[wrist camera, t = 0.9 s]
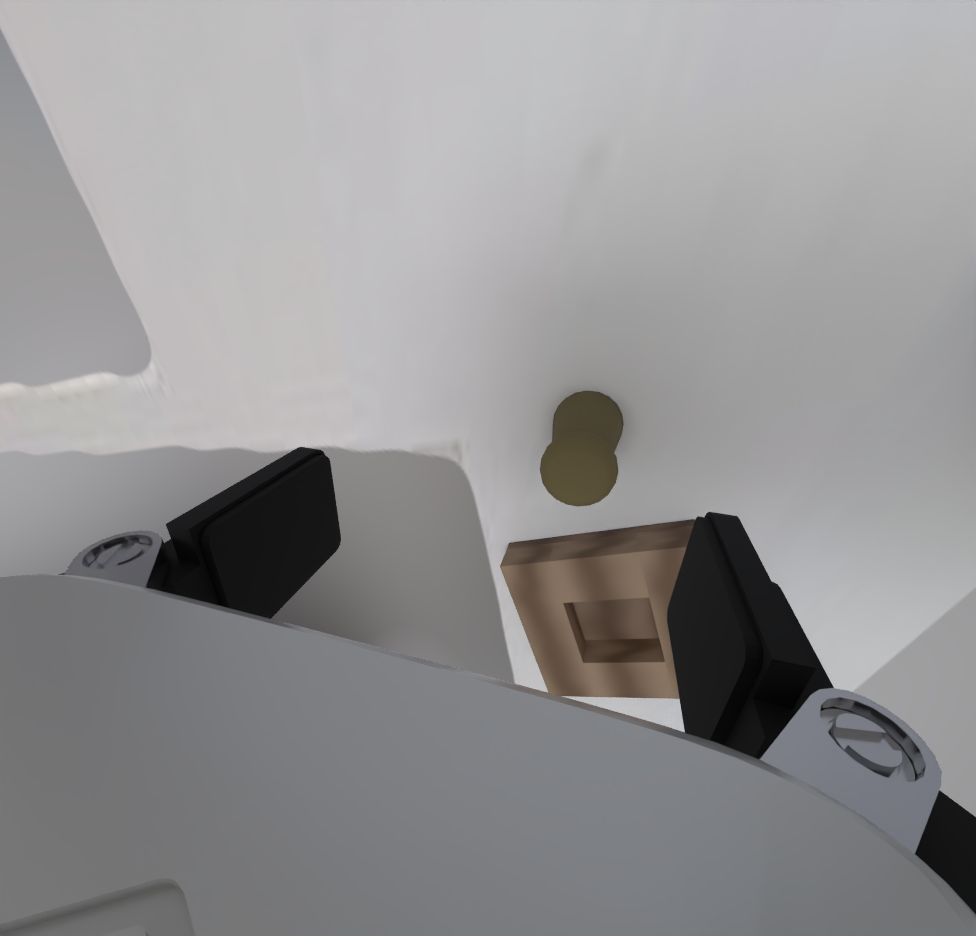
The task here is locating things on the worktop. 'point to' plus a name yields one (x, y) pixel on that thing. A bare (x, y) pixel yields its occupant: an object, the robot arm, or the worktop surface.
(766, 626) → the robot arm
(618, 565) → the walnut holder
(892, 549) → the worktop surface
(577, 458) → the olive pepper mill
